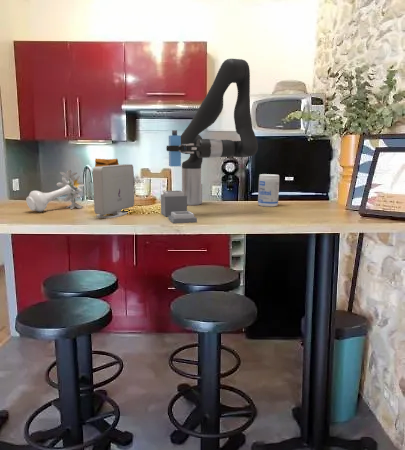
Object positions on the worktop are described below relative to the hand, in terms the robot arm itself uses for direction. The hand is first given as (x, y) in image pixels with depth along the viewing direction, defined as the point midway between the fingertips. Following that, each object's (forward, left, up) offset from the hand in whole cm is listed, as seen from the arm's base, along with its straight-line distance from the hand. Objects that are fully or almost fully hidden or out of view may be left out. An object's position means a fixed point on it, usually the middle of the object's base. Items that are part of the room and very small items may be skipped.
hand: (168, 148), depth 170 cm
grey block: (-3, 0, -27) cm, 27 cm away
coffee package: (-2, -40, -27) cm, 49 cm away
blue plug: (-2, +2, -7) cm, 8 cm away
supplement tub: (-52, +16, -27) cm, 61 cm away
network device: (+12, -19, -27) cm, 35 cm away
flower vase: (+20, -48, -27) cm, 59 cm away
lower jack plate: (+5, +12, -27) cm, 30 cm away
